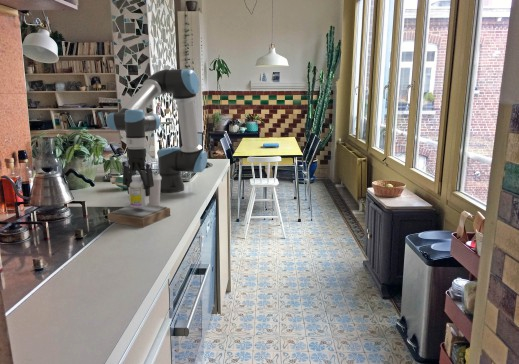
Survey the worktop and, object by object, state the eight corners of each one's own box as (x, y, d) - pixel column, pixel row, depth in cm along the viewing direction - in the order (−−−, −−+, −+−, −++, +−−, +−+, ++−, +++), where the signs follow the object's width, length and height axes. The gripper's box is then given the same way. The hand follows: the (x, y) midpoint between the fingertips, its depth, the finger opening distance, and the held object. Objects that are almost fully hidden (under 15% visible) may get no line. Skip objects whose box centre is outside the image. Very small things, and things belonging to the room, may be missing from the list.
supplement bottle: (142, 203, 181) (140, 173, 178) (150, 206, 176) (149, 176, 174) (128, 206, 176) (126, 175, 174) (135, 209, 172) (134, 178, 169)
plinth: (136, 211, 189) (136, 202, 188) (170, 215, 182) (170, 206, 181) (108, 221, 173) (107, 212, 172) (143, 227, 166) (143, 217, 165)
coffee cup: (157, 209, 192) (156, 177, 189) (138, 208, 194) (136, 176, 191) (166, 204, 201) (165, 173, 198) (147, 203, 203) (146, 172, 200)
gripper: (110, 147, 172) (114, 202, 176) (150, 150, 164) (152, 207, 169) (123, 145, 178) (126, 198, 183) (161, 148, 171) (164, 203, 176)
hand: (139, 202), depth 176 cm, fingers closed on supplement bottle, 7 cm apart
